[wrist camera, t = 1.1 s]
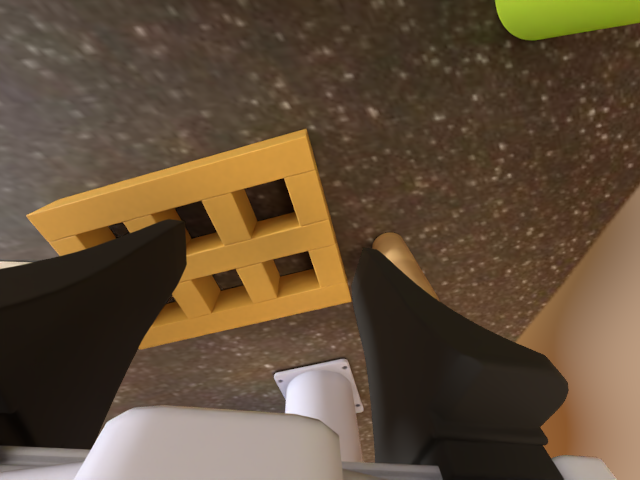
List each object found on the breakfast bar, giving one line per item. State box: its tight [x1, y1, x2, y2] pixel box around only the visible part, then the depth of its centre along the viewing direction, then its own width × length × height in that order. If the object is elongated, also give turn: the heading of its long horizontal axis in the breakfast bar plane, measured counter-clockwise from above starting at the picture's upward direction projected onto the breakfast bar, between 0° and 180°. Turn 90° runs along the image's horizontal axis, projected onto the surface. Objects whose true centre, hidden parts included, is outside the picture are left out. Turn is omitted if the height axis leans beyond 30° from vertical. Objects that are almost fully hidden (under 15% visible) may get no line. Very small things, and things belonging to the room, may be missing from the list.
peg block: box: [26, 129, 352, 349], centre depth 21 cm, size 13×18×3 cm
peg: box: [372, 233, 440, 301], centre depth 20 cm, size 3×3×8 cm
